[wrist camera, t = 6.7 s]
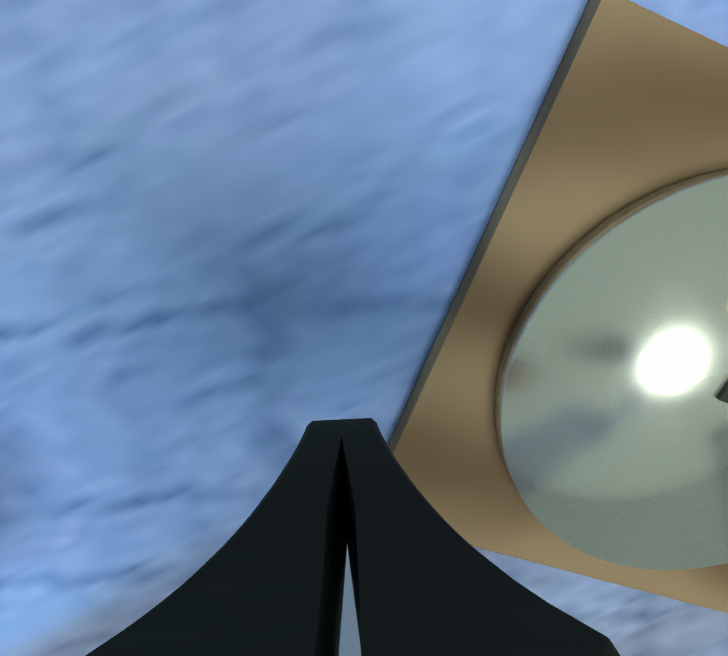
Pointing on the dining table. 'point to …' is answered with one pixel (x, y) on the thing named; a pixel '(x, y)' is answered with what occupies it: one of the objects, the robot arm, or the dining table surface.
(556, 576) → the dining table surface
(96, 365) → the dining table surface
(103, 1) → the dining table surface
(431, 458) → the dial base
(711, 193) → the capstan dial
